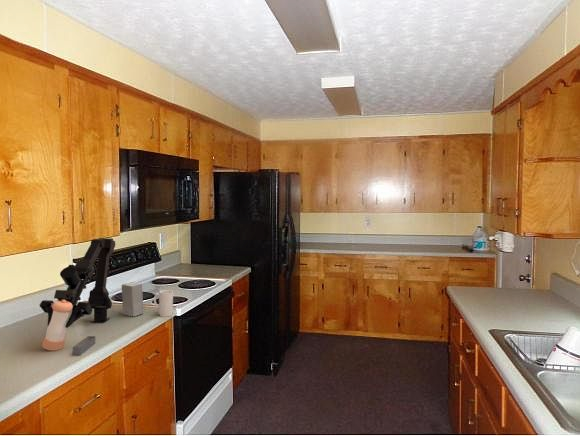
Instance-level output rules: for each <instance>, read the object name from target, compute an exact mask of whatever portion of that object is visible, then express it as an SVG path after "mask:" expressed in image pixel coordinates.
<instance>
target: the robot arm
mask: <svg viewBox="0 0 580 436" xmlns="http://www.w3.org/2000/svg"><path fill="white" fill-rule="evenodd" d="M115 247H116V241H115V240H114V238H112V237H111V238H109V237H108V238H107V237H103V238H101V237H99V238H93V239H91V241H90V245H89V247H88V249H87V250H86V251H85V254H84V255H83V258H82V259H81V260H80V261H78V262H77V263H75V265H74V264H68V266H67V267H64V268H63V269H61V270H60V272H59V276H60V278H61V280H62V281H63V282H64V284H65V285H66V286H67V288H66V290H65V289H55V292H54V295H53V296H54V297H53V299H56V301H59V300H66V301H69V302H71V303H72V305H73V308H72V310H71V313H70V314H69V315H70V316H68V319H67V324H66V328H67V329H68V328H69V327H70V326H72V325H73V324H74V323H75V322H77V321H78V320H80V318H82V317H84V316H91V315H92V313H93V319H92V320H90V323H101V324H103V323H105V322H106V323H107V321H108V320H110V319H111V318H110V317H108V310H109V309H112V305H113V302H112V300H111V298H110V296H109V295H110V294H109V291H108V289H107V280H108V271H109V263H110V257H111V255H112V254H113V253H114V251H115ZM96 260H97V264H96V266H97V267H96V272H95V280H94V281H95V283H94V287H93V288H92V289H91V290H90V291H89V297H88V298H87V302H86V301H81V300H82V298H81V295H82V293H83V290H86V289H87V285H86V282H85V281H87V280H88V281H89V280H91V278H92V277H93V275H94V268H93V266H94V265H95V262H96ZM84 280H85V281H84ZM78 301H79V302H78ZM53 303H55V301H53V300H48V299H45V300H44V299H43V300H42V301H40V303H39V307H40V308H41V310H42V311H43V313H45V314H47V327H48V326H49V323H50V321H51V319H52V315H53V311H54V310H53V308H52V305H53Z"/></svg>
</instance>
